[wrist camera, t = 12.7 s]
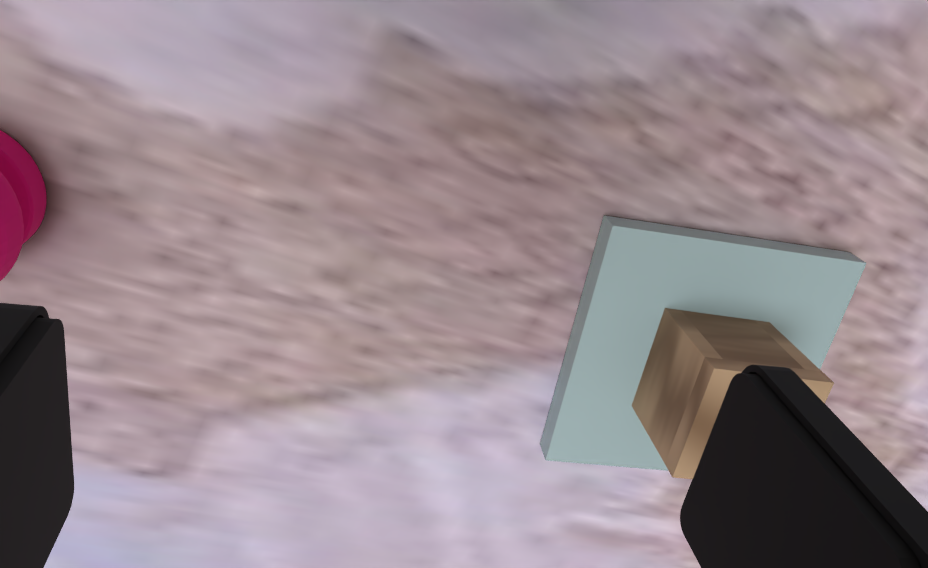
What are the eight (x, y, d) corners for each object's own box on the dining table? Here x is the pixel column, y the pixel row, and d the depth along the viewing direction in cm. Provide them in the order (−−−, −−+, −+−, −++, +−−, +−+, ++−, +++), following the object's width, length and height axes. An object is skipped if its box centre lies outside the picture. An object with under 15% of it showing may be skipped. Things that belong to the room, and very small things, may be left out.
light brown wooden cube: (664, 307, 38) (720, 375, 32) (769, 322, 39) (841, 389, 33) (631, 405, 40) (677, 485, 34) (731, 416, 42) (792, 495, 36)
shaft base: (603, 215, 37) (644, 261, 32) (849, 252, 40) (925, 301, 34) (539, 444, 43) (565, 516, 37) (759, 463, 45) (812, 533, 40)
